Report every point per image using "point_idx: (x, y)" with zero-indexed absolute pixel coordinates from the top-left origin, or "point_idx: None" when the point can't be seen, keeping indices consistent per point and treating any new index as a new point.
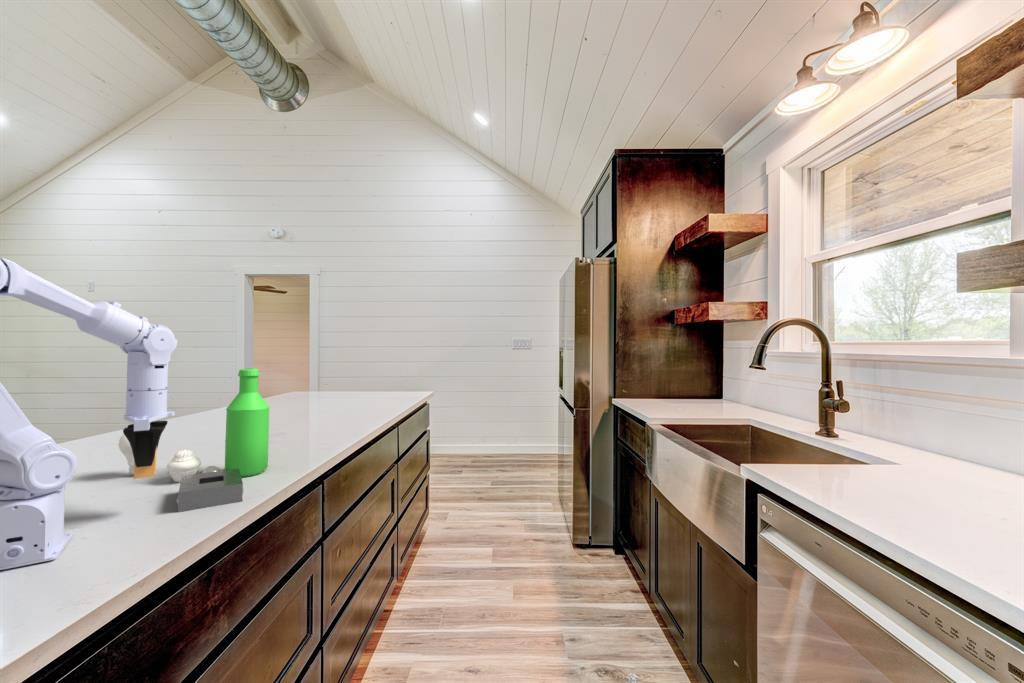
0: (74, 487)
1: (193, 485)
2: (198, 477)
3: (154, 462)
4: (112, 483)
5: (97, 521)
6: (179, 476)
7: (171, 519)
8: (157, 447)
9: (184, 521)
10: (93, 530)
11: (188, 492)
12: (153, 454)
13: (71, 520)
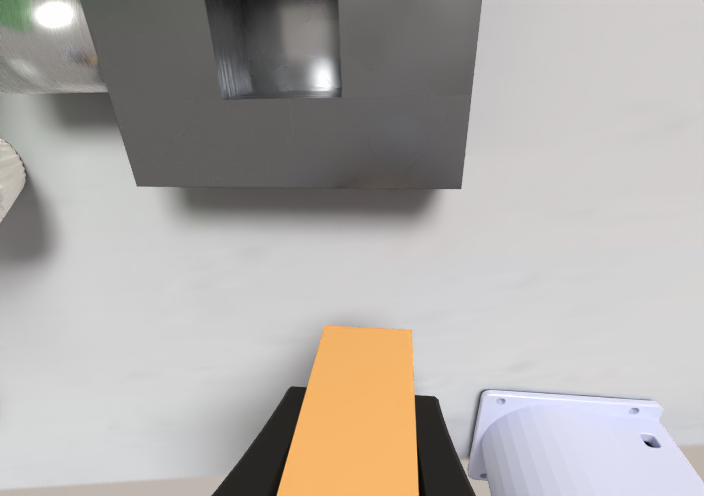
0: (40, 410)
1: (357, 125)
2: (193, 106)
3: (412, 395)
4: (13, 349)
5: None
6: (11, 186)
7: (527, 179)
8: (255, 455)
9: (596, 133)
10: (467, 356)
11: (463, 144)
12: (458, 465)
13: None
